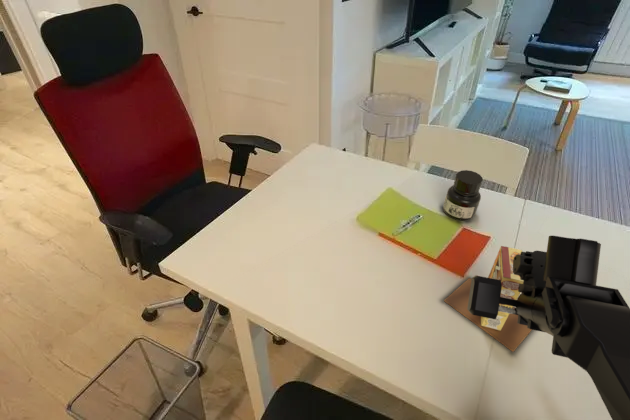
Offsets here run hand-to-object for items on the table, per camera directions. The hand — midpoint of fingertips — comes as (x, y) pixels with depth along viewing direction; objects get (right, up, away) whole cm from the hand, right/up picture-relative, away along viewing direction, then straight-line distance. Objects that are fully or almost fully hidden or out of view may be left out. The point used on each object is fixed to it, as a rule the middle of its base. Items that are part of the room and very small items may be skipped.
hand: (515, 300), depth 66 cm
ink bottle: (+6, +15, +41) cm, 44 cm away
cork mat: (+2, -6, +14) cm, 16 cm away
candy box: (+2, -6, +14) cm, 15 cm away
